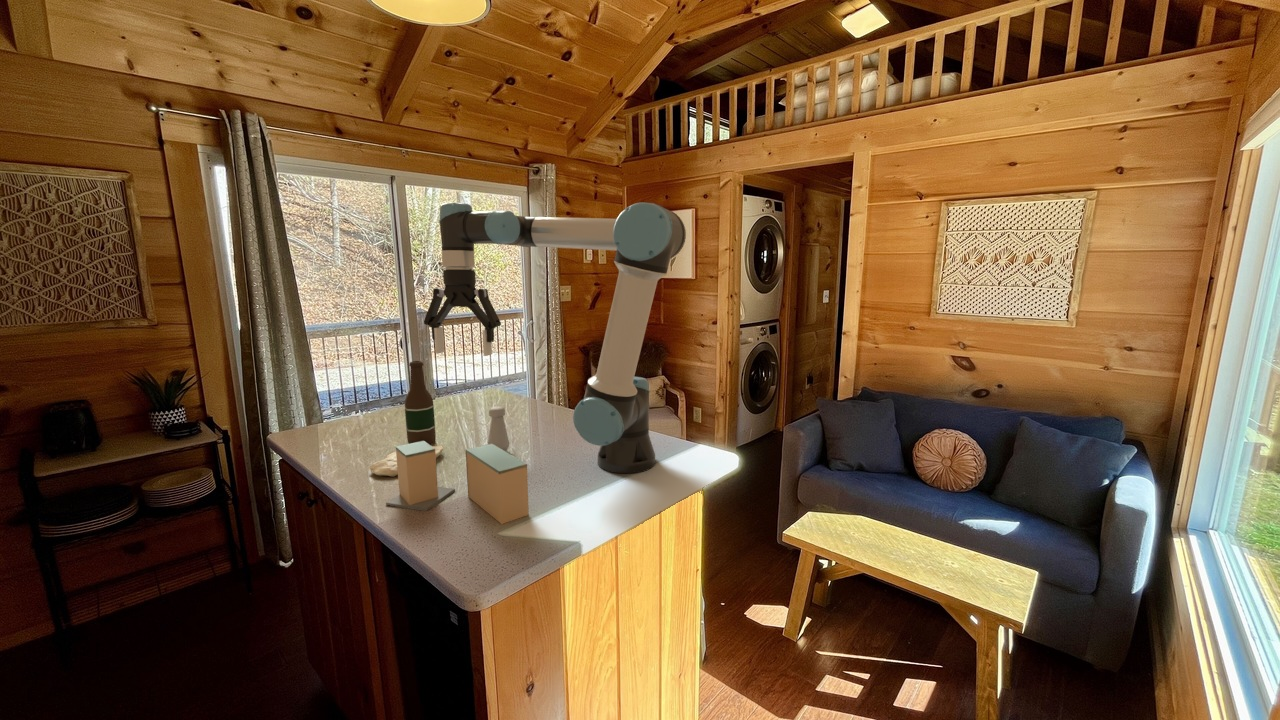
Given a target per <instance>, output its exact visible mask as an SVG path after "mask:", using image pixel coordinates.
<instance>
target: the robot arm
mask: <svg viewBox="0 0 1280 720" xmlns="http://www.w3.org/2000/svg"><path fill="white" fill-rule="evenodd" d="M514 213H515V212H513V211H511V210H501V209H495V210H482V211H473V208H472V206H471V204H468V203H464V202H444V203H442V204H441V205H440V206H439V220H438V222H439V229H440V237H441V239H440V240H441V262H442V263H441V264H442V265H441V267H443V268H445V269H443V271H442V276H443V277H442V279H443V284H444V288H442V287H438V288H436V287H435V288H433V290H432V299H431V302H430V303H429V307H428V310H427V313H426V314H425V317H424V320H423V324H424V325H426V326H429V327H430V328H431V337H432V341H434V346H435V347H434V349H435V354H443V353H445V351H446V350H445V336H444V335H445V334H444V326H442V323H443V322H444V320H445V319H446V318H447V316H448V315H449V314H450V312H451V310H453V308H455V307H456V308H458V307H460V308H466V307H467V309H469V310H470V311H471V312H472V314H473V315H474V317H476V318H477V320H478V322H480V324H481V325H482V326H483V327H484V329H482V348H483V349H482V351H483V356H484V357H488V356H491V355H493V345H492V343H493V342H494V341H495V329H496V328H498V327H501V326H502V323H501V320H500V318H499V317H498V313H497V312H496V310H495V307H494V306H493V304H492V302H491V300H490V298H489V292H488V289H487V288H478V289H476V284H477V281H476V280H477V279H476V271H475V270H474V269H473V268H475V265H476V264H475V245H479V244H483V245H484V244H485V245H486V244H487V245H490V244H491V245H505V246H507V245H508V246H515V247H516V246H517V247H525V248H532V247H535V248H537V247H538V248H556V249H558V248H560V249H575V250H576V249H580V250H597V251H598V250H600V251H616V252H615V257H614V260H613V263H614V264H615V267H616V268H617V269H618V275H617V279H616V283H615V289H614V293H613V299H612V303H611V306H610V312H609V315H608V321H607V324H606V328H605V333H604V337H603V338H604V339H603V342H602V346H601V352H600V355H599V356H600V357H599V361H598V364H597V365H598V366H597V369H596V373H595V375H593V376H591V377H589V378H588V379H587V382H586V383H587V384H586V388H585V392H584V396H583V399H581V400H579V402H578V403H577V405H576V406H575V408H574V410H573V414H572V419H573V426H574V428H575V430H576V431H577V433H578V434H579V436H580V437H581V438H582V439H583V440H584V441H586V442H587V443H589V444H591V445H593V446H599V449H598V453H597V466H598V467H599V468H601V469H602V470H604V469H605V471H607V472H611V473H617V474H636V473H640V472H641V471H642V472H644V470H645V471H647V469H648V470H650V469H652V468H653V467H655V465H654V464H656V453H655V450H654V447H653V444H652V440H651V437H650V431H649V429H650V425H649V424H650V393H651V390H650V383H649V380H648V379H647V378H645V377H641V376H635V375H636V371H637V366H638V362H639V360H640V355H641V351H642V347H643V342H644V339H645V334H646V330H647V326H648V321H649V317H650V314H651V308H652V304H653V301H654V297H655V292H656V289H657V285H658V281H660V279H662V278H663V277H665V276H666V275H667V273H668V269H669V265H670V261H671V259H673V258H675V257H676V256H677V255H678V254H679V253H680V252H681V251H682V249H683V248H684V245H685V244H686V243H685V242H686V237H687V236H686V235H687V230H686V227H685V223H684V222H683V220H682V219H681V217H680V216H679V215H678V214H677V213H675V212H674V211H672V210H670V209H667V208H665V207H663V206H661V205H659V204H656V203H654V202H645V201H644V202H637V203H633V204H631V205H629V206H627V207H626V208H625V209H624V210H622V211H621V212H620V213H619V215H618V216H617V217H616V218H606V217H605V218H603V217H602V218H601V217H600V218H599V217H598V218H596V217H595V218H594V217H592V218H591V217H558V216H557V217H554V216H551V217H549V216H548V217H547V216H526V215H525V216H522V215H515V214H514ZM476 297H477V298H478V299H479V302H480V304H481V306H482V308H483V309H482V308H481V306H480V304H479V302H478V301H477V300H476ZM444 298H446V299H445V301H443V299H444ZM442 302H443V304H442ZM441 305H442V306H441ZM651 467H652V468H651ZM649 468H650V469H649Z"/></svg>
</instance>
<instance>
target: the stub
mask: <svg viewBox="0 0 1280 720" xmlns="http://www.w3.org/2000/svg"><path fill="white" fill-rule="evenodd" d="M395 452H396V456H397V469H398V475H397V479H398V490H399V491H398V493H399V494H398V495H401V496H402V497H403V498H404V499H405V500H406V502H407V503H408V504H409V505H411V504H415V503H418V502H422V501H426V500H429V499H433V498H436V497H438V487H439V486H438V485H439V484H438V474H437V472H438V471H437V458H436V455H435V448H433V447H432V444H430V445H429V444H428V443H426V442H425V441H420V442H415V443H410V444H409V443H407V444H401V445H396V446H395Z"/></svg>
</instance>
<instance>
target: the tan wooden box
mask: <svg viewBox="0 0 1280 720" xmlns="http://www.w3.org/2000/svg"><path fill="white" fill-rule="evenodd" d="M465 461H466V463H465V464H466V465H465V467H466V481H467V497H468V498H469V499H471V500H472V502H474V503H475V504H477V505H478V506H479V507H480V508H481V509H483V510H484V511H485V512H486V513H487V514H489V515H490V516H491V517H492V518H494V519H495V520H496V521H497V522H498V523H500V524H501V525H504V524H506V523H509V522H512V521H516V520H518V519H520V518H524V517H526V516H529V512H530V511H529V487H528V486H529V483H528V482H529V481H528V463H526V462H524V461H522V460H521V459H520V458H517V457H516V456H514V455H512V454H510V453H509V452H508V451H507V452H505V451H504V450H502V449H500V448H499V447H497V446H495V445H493V444H488V443H487V444H484V445H480V446H475V447H471V448H467V449H465Z"/></svg>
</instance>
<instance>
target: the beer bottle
mask: <svg viewBox="0 0 1280 720" xmlns="http://www.w3.org/2000/svg"><path fill="white" fill-rule="evenodd" d="M408 366H409V367H410V369H409V370H410V371H409V373H410V387H409V391H408V392H407V394H406V395H405V399H404V413H405V414H404V417H405V427H406V439H407V444H410V443H415V442H420V441H425V442H426V443H428V444H429V445H432V444H434V443H435V442H436V438H437V436H436V423H435V406H434V399H433V397H432V394H431V393H430V392H429V391H428V389H427V388H426V384H425V377H424V376H425V375H424V370H423V369H424V368H423V366H424V362H423V361H421V360H414V361H409V365H408Z"/></svg>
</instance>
